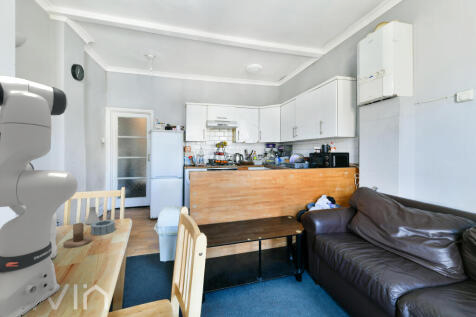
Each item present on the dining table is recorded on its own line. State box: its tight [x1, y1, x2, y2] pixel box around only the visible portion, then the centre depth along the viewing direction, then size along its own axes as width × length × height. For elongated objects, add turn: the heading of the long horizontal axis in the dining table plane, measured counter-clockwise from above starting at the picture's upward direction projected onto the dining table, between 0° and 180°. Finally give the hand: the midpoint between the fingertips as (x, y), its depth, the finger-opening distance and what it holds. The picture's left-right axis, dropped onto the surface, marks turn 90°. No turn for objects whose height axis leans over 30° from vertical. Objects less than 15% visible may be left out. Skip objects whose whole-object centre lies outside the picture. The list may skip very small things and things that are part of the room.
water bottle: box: [50, 212, 58, 259], centre depth 82 cm, size 7×7×25 cm
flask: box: [85, 206, 101, 226], centre depth 124 cm, size 7×7×10 cm
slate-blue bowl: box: [90, 219, 116, 236], centre depth 112 cm, size 11×11×4 cm
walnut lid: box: [63, 222, 93, 249], centre depth 98 cm, size 11×11×9 cm
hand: (49, 214), depth 94 cm, fingers open, 8 cm apart
